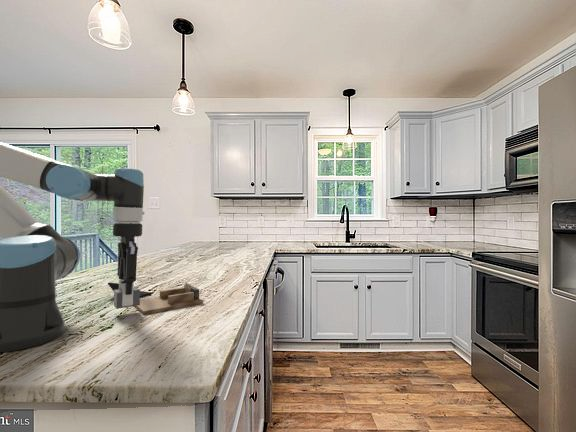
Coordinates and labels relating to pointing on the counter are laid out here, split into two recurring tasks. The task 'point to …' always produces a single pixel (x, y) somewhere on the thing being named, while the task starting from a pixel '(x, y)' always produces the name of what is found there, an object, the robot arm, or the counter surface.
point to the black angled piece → (116, 286)
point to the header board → (170, 300)
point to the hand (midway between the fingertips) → (125, 303)
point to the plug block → (119, 298)
